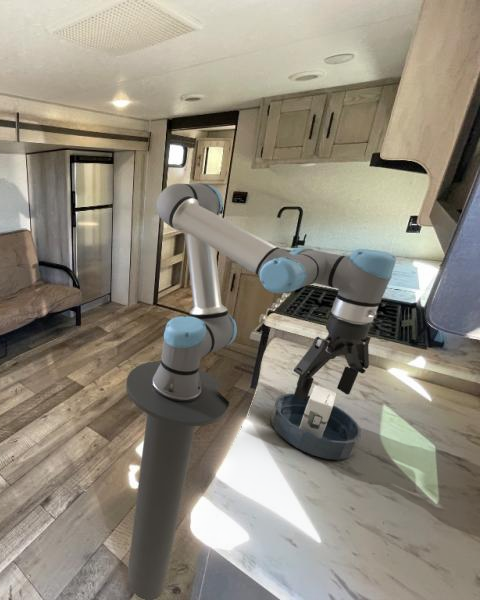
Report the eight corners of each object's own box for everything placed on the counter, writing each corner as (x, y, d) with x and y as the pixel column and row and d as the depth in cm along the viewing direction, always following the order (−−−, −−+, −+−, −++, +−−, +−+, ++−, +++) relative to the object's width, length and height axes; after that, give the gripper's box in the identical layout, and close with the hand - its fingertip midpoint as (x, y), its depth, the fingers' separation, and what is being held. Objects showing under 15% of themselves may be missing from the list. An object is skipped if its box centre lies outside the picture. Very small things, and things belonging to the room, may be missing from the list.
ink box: (302, 418, 89) (314, 383, 85) (324, 427, 86) (337, 391, 82) (296, 435, 84) (308, 398, 79) (319, 445, 80) (333, 407, 76)
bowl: (255, 415, 91) (260, 398, 89) (307, 406, 96) (312, 390, 93) (311, 468, 75) (319, 448, 73) (371, 455, 79) (380, 436, 77)
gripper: (321, 329, 67) (293, 411, 75) (409, 321, 73) (375, 397, 80) (292, 315, 74) (269, 391, 82) (374, 308, 79) (345, 380, 87)
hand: (321, 394), depth 81 cm, fingers open, 13 cm apart
